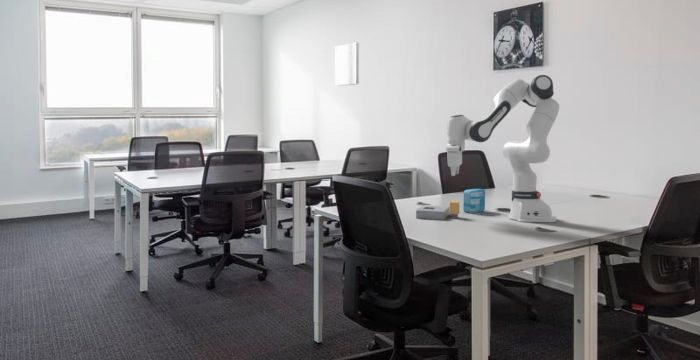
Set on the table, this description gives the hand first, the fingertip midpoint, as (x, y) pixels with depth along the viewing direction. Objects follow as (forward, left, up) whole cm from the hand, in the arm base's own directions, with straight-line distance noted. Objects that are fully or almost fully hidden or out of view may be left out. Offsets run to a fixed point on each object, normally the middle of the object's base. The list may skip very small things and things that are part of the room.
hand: (454, 174), depth 264 cm
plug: (0, 0, -22) cm, 22 cm away
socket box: (+11, 0, -22) cm, 24 cm away
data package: (-7, -20, -22) cm, 31 cm away
